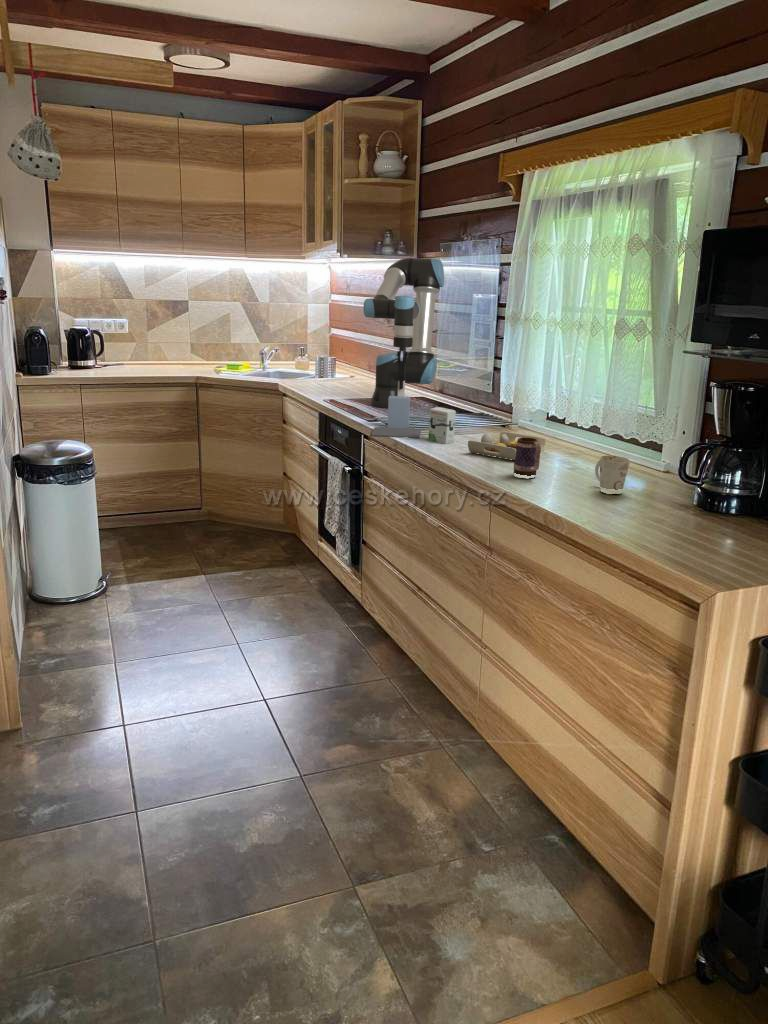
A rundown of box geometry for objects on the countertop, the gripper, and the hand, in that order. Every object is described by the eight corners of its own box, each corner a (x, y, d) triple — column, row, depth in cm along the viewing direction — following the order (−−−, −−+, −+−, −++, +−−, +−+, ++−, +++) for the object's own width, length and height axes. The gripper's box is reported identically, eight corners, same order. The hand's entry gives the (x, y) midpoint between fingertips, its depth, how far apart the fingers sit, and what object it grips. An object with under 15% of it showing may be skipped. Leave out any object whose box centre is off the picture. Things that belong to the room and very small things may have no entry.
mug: (608, 497, 223) (612, 463, 220) (581, 486, 234) (584, 453, 231) (631, 495, 227) (636, 461, 224) (603, 483, 237) (607, 451, 234)
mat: (374, 428, 306) (374, 427, 305) (420, 430, 304) (421, 429, 304) (370, 436, 292) (370, 434, 292) (419, 438, 291) (419, 437, 291)
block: (388, 426, 311) (389, 395, 307) (408, 427, 310) (410, 396, 307) (387, 428, 306) (388, 397, 303) (408, 429, 306) (409, 398, 302)
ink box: (427, 440, 288) (429, 408, 285) (436, 438, 292) (437, 406, 288) (446, 444, 283) (447, 411, 279) (454, 442, 286) (456, 410, 282)
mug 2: (508, 474, 245) (511, 436, 241) (529, 473, 247) (532, 435, 244) (524, 482, 236) (528, 443, 232) (545, 481, 238) (549, 442, 234)
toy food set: (514, 464, 259) (516, 441, 257) (466, 455, 269) (467, 433, 267) (546, 451, 279) (548, 429, 277) (500, 443, 289) (502, 422, 287)
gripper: (394, 334, 315) (392, 393, 322) (392, 337, 303) (390, 398, 310) (413, 335, 314) (411, 394, 321) (411, 338, 302) (409, 399, 309)
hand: (400, 396), depth 315 cm, fingers closed
